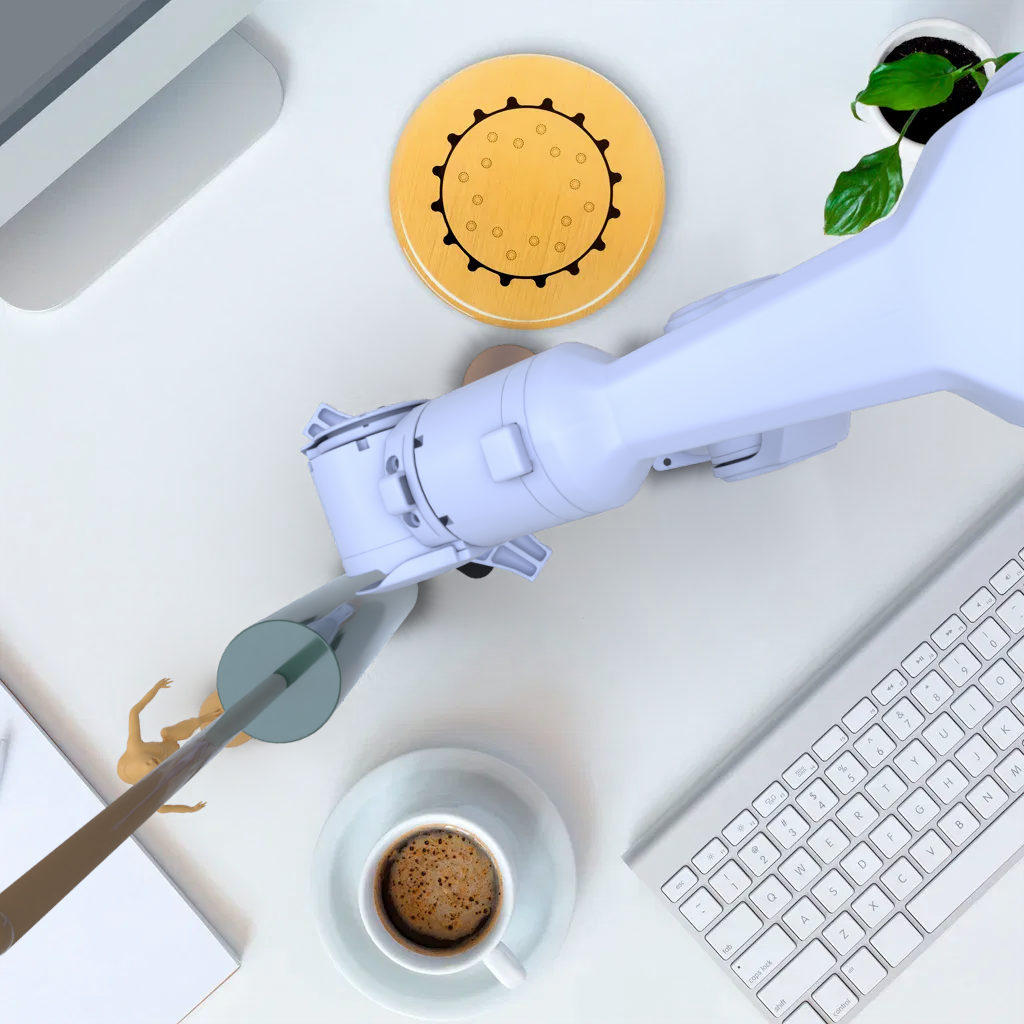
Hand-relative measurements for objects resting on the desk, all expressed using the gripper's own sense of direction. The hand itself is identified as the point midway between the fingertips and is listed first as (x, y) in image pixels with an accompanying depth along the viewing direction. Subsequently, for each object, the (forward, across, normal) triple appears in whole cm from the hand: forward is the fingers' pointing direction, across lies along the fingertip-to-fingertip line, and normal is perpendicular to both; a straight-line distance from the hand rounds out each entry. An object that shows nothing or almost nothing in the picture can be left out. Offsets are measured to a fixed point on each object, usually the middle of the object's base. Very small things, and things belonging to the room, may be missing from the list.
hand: (440, 491), depth 59 cm
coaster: (+5, 0, +8) cm, 10 cm away
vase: (+5, 0, -8) cm, 10 cm away
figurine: (+6, -4, -21) cm, 22 cm away
